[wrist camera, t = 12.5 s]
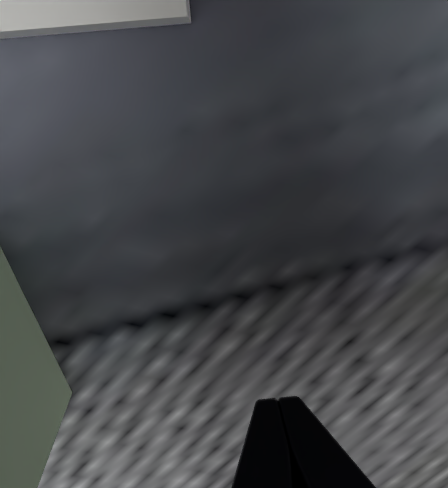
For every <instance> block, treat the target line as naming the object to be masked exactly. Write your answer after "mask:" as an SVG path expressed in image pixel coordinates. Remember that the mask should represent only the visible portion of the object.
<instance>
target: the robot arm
mask: <svg viewBox="0 0 448 488" xmlns="http://www.w3.org/2000/svg"><path fill="white" fill-rule="evenodd" d="M232 488H376V487H375V486H374V485H373V484H372V482H371V481H370V480H369V479H368V478H367V476H366V475H365V474H364V473H363V472H362V471H361V469H360V468H359V467H358V466H357V465H356V463H355V462H354V461H353V460H352V459H351V458H350V456H349V455H348V454H347V453H346V452H345V451H344V449H343V448H342V447H341V446H340V445H339V443H338V442H337V441H336V440H335V439H334V438H333V436H332V435H331V434H330V433H329V432H328V430H327V429H326V428H325V427H324V426H323V425H322V423H321V422H320V421H319V420H318V419H317V418H316V416H315V415H314V414H313V413H312V412H311V410H310V409H309V408H308V407H307V406H306V405H305V403H304V402H303V401H302V400H301V399H300V398H299V397H297V396H291V397H281V398H279V399H278V401H277V399H275V398H269V399H259V400H257V401H256V403H255V407H254V410H253V414H252V417H251V421H250V424H249V428H248V431H247V435H246V438H245V442H244V445H243V449H242V452H241V456H240V459H239V463H238V467H237V470H236V474H235V477H234V481H233V484H232Z"/></svg>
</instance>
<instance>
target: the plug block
mask: <svg viewBox="0 0 448 488" xmlns="http://www.w3.org/2000/svg"><path fill="white" fill-rule="evenodd" d="M71 395H72V391H71V389H70V387H69V385H68V383H67V381H66V379H65V377H64V375H63V373H62V371H61V369H60V367H59V365H58V363H57V361H56V359H55V356H54V354H53V352H52V350H51V348H50V346H49V344H48V342H47V340H46V338H45V336H44V334H43V332H42V330H41V328H40V326H39V324H38V322H37V320H36V318H35V316H34V314H33V312H32V310H31V308H30V306H29V304H28V302H27V300H26V298H25V296H24V294H23V292H22V290H21V287H20V285H19V283H18V281H17V279H16V277H15V275H14V273H13V271H12V269H11V267H10V265H9V263H8V261H7V259H6V257H5V255H4V253H3V251H2V249H1V247H0V488H37V487H38V485H39V482H40V479H41V476H42V474H43V471H44V468H45V466H46V463H47V460H48V457H49V455H50V452H51V449H52V447H53V444H54V441H55V438H56V436H57V433H58V430H59V428H60V425H61V422H62V419H63V417H64V414H65V411H66V409H67V406H68V403H69V400H70V398H71Z"/></svg>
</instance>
